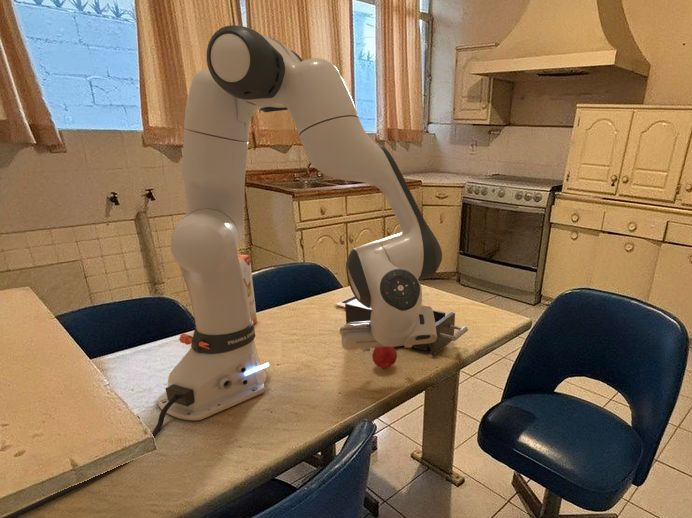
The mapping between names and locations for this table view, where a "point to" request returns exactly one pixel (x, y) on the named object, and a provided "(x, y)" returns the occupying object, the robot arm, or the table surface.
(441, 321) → the drawer
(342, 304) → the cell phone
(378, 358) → the onion
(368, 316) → the cabinet
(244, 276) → the cracker box
